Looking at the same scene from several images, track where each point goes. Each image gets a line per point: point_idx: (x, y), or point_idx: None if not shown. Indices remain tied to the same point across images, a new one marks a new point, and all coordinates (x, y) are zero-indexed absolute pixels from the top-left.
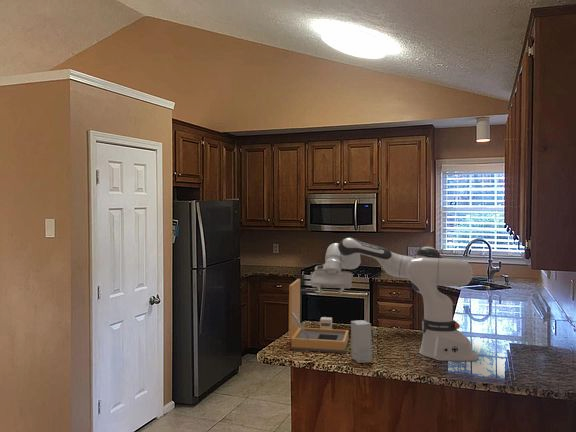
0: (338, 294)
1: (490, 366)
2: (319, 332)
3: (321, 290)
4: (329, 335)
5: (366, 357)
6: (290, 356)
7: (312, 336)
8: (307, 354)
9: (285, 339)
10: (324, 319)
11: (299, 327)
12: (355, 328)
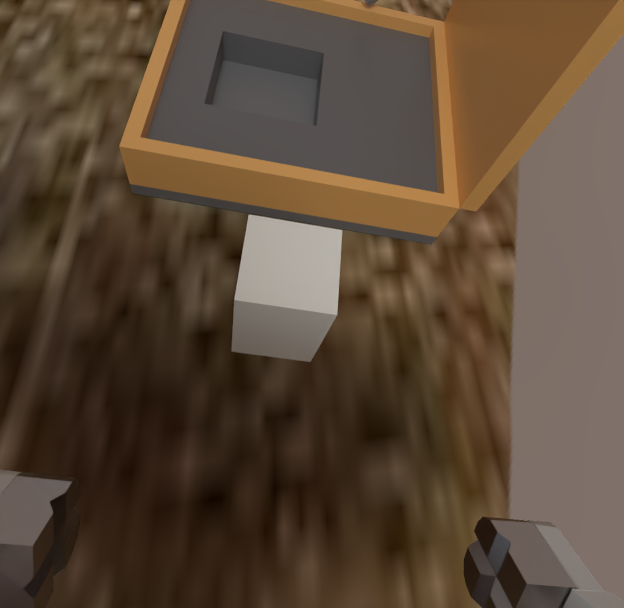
0: (73, 518)
1: None
2: (322, 157)
3: (517, 552)
4: (258, 118)
5: None
6: (407, 2)
7: (354, 87)
8: None
9: (493, 204)
10: (305, 226)
11: (459, 195)
12: None
